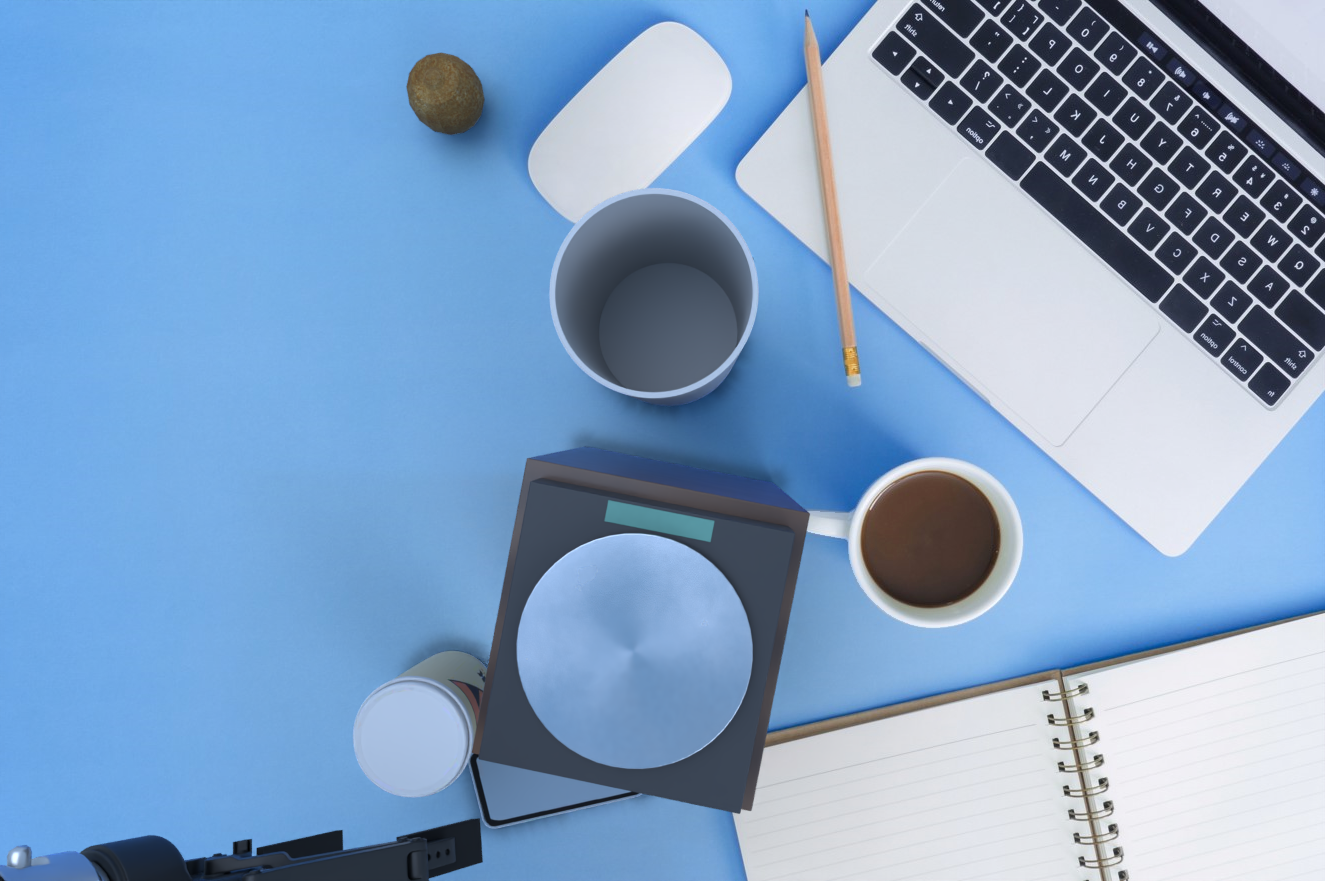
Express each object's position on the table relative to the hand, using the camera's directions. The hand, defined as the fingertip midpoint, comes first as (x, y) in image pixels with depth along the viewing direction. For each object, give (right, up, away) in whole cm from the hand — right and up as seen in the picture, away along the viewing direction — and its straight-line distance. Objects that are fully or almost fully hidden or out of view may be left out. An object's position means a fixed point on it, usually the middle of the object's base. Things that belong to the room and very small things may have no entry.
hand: (405, 845), depth 61 cm
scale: (+17, +17, -10) cm, 25 cm away
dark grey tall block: (+18, +17, +16) cm, 30 cm away
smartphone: (+9, -1, +17) cm, 19 cm away
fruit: (0, +57, +17) cm, 60 cm away
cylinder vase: (+19, +38, +16) cm, 45 cm away
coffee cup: (-1, +6, +18) cm, 19 cm away
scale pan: (+16, +17, -13) cm, 27 cm away
